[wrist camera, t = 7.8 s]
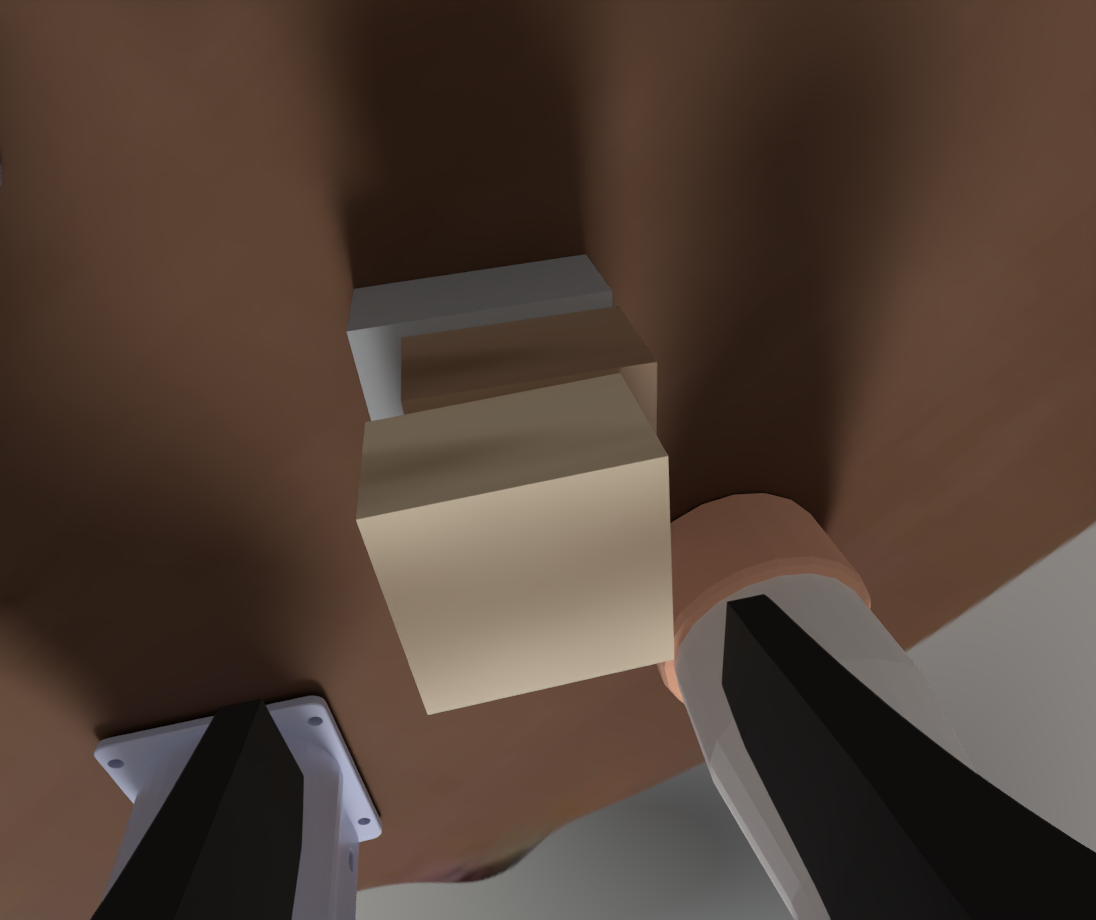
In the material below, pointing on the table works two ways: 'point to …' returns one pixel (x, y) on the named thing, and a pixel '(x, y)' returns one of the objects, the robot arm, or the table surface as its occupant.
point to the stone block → (0, 175)
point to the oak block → (521, 539)
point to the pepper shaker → (819, 609)
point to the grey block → (459, 313)
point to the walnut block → (526, 359)
